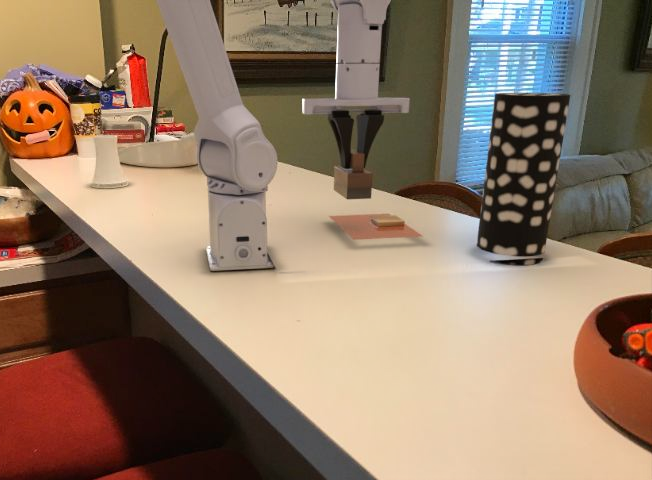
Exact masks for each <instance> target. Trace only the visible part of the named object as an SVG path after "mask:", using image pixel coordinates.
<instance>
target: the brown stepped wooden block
mask: <svg viewBox="0 0 652 480" xmlns="http://www.w3.org/2000/svg"><path fill="white" fill-rule="evenodd" d="M372 188H373V172H371V171H370V170H367V169H366V168H364V153H361V152H359V151H357V149H354V148H351V161H350V168H348V169H345V168H343V167H341V165H334V169H333V191H335V192H336V193H337V194H339V195H340V196H342V197H343V198H344V199H345V200H368V199H369V200H370V199H372V193H373V192H372V190H373V189H372Z"/></svg>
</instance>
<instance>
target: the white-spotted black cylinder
mask: <svg viewBox="0 0 652 480" xmlns="http://www.w3.org/2000/svg"><path fill="white" fill-rule="evenodd" d="M570 100H571V94H569V93H555V92H554V93H553V92H499V93H497V92H496V93H494V100H493V106H492V107H493V108H492V116H491V123H490V133H489V139H488V147H487V158H486V166H485V173H484V183H483V190H482V198H481V205H480V213H479V222H478V231H477V238H476V247H477V248H478V249H480V250H481V251H484V252H487V253H490V254H494V255H499V256H506V257H507V256H508V257H518V258H512V259H495V260H490V262H492V263H495V264H503V265H510V266H530V265H536V264H539V263H542V262H543V261H544V257H535V256H539V255H540V256H541V255H542V254H544V253H545V252H546V247H547V246H546V245H547V240H548V234H549V229H550V228H549V227H550V222H551V216H552V209H553V204H554V197H555V191H556V187H557V186H556V185H557V179H558V172H559V167H560V160H561V155H562V150H563V149H562V148H563V142H564V137H565V131H566V124H567V119H568V113H569V106H570ZM519 257H530V258H519ZM531 257H532V258H531ZM533 257H534V258H533Z"/></svg>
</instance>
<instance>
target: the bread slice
mask: <svg viewBox="0 0 652 480" xmlns="http://www.w3.org/2000/svg"><path fill="white" fill-rule="evenodd" d="M370 221H372V222H373V223H374V224H376V225H377V226H378V227H384V226H404V224H406V223H405V222H406V221H405V220H404V219H402V218H401V217H399V216H397V215H396V214H391V215H384V216H370Z"/></svg>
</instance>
